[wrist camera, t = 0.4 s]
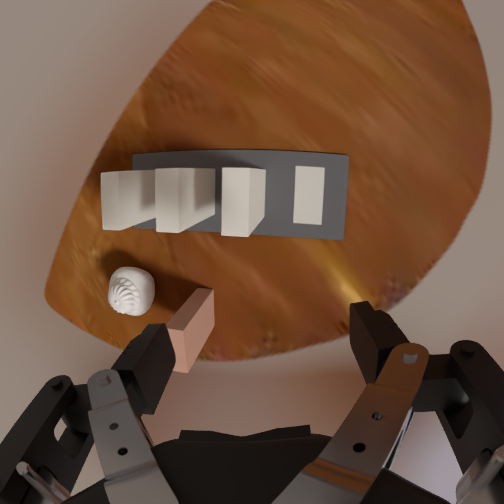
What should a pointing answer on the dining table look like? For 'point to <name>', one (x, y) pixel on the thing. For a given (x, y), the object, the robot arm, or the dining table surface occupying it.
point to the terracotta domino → (191, 327)
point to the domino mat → (272, 188)
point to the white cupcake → (131, 290)
